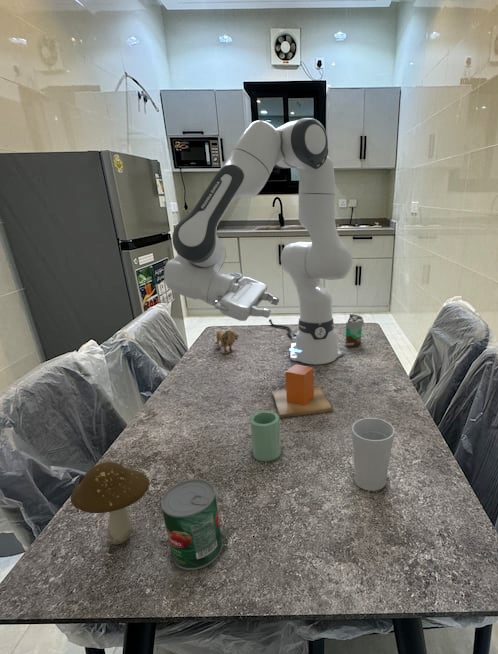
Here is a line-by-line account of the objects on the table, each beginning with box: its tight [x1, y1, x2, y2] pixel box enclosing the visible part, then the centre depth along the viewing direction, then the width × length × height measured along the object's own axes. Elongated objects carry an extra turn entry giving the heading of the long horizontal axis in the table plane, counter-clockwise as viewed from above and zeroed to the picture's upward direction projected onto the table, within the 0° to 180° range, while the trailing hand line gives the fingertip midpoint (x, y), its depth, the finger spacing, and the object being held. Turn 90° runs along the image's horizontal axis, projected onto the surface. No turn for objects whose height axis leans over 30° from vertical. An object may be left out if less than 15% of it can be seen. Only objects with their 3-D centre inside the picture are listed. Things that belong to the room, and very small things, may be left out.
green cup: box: [249, 410, 282, 462], centre depth 84 cm, size 6×6×9 cm
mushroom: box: [70, 461, 151, 545], centre depth 61 cm, size 9×11×15 cm
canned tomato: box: [160, 478, 224, 571], centre depth 60 cm, size 8×8×11 cm
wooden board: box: [272, 385, 333, 419], centre depth 106 cm, size 14×14×1 cm
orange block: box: [284, 363, 315, 406], centre depth 104 cm, size 6×6×9 cm
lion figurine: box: [214, 329, 240, 355], centre depth 143 cm, size 15×5×9 cm, turn 44°
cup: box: [351, 417, 396, 492], centre depth 74 cm, size 8×8×12 cm
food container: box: [345, 313, 365, 348], centre depth 147 cm, size 12×6×10 cm, turn 168°
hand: (274, 307), depth 102 cm, fingers open, 8 cm apart
